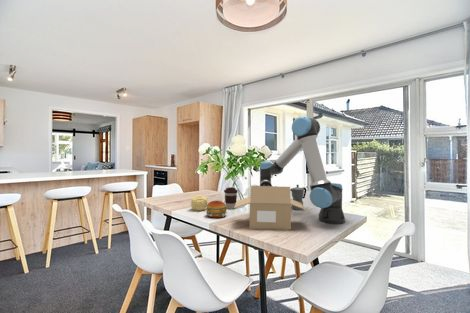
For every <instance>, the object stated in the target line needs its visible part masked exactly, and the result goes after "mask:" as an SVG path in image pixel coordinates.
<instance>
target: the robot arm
mask: <svg viewBox="0 0 470 313" xmlns="http://www.w3.org/2000/svg"><path fill="white" fill-rule="evenodd" d="M320 131H321V125H320V123H319V121H318V120H317V119H316V118H311V117H309V116H304V115H303V116H298V117H296V118H295V119H294V120H293V122H292V123H291V132H292V134H294V135H295V136H296V138H295V139H294V140H293V141H292V142H291V143H290V145H289V146H288V147H287V148H286V149H285V150H284V151H283V152H282V153H281V155H280V156H279V157H278V158H277V159H276V160H275V161H274V162H273V163H272V162H271V161H261V162H259V163H260V164H259V165H260V166H259V186H273V185H272V176H273V175H280V174H282V172H284V168H285V167H286V166H287V165H288V164H289V163H290V162H291V161H292V160H293V159H294V158H295V157H296V156H297V155H298V154H299V153H300V152H301V150H302V151H303V154H304V158H305V164H306V166H307V170H308V173H309V178H310V181H311V183H310V184H309V187H310V192H309V200H310V202H311V204H313V206H315V207H316V208H319V209H320V210H319V214H318V220H319V221H321V222H323V223H328V224H334V225H335V224H345V223H346V216H345V212H344V210H343V185H342V184H341V183H335V182H331V181H330V180H329V179H328V178H327V175H326V171H325V168H324V164H323V161H322V158H321V157H322V156H321V153H320V149H319V147H318V142H317V138H318V136H319V133H320ZM275 186H276V185H275ZM276 187H278V186H276Z"/></svg>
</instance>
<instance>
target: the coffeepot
mask: <svg viewBox="0 0 470 313" xmlns="http://www.w3.org/2000/svg"><path fill="white" fill-rule="evenodd" d="M299 186H300V185H299V184H296V187H292V188H291V187H290V193H291V198H292V200H295V201H297V202H300V203H301V204H302V205H303V206H304V201H303V199H305V198H306V195H307V191H308V190H307V188H306V187H305V186H304V187H299ZM291 210H293V211H303V210H304V209H301V208H299V207H296V206H294V205H291Z"/></svg>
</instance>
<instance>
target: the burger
mask: <svg viewBox="0 0 470 313" xmlns="http://www.w3.org/2000/svg"><path fill="white" fill-rule="evenodd" d="M205 211H206V215H207V217H208V218H215V219H216V218H223V217H225V216H226V214H227V213H228V211H227V207H226V203H225V202H224V201H222V200H212V201H209V202H207V207H206V209H205Z"/></svg>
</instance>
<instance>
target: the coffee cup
mask: <svg viewBox="0 0 470 313" xmlns="http://www.w3.org/2000/svg"><path fill="white" fill-rule="evenodd" d="M223 192H224V203H225V205H226V207H227V208H226V210H235V209H234V207H235V204H236V201H237V198H238V196H237V193H238V190H237V189H236V188H235V187H231V186H230V187H226V188H225V189H224V190H223Z"/></svg>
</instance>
